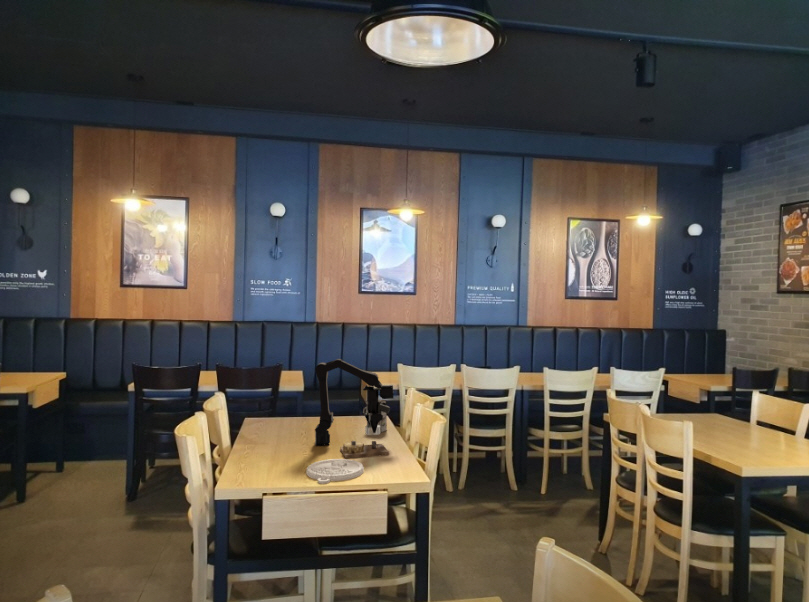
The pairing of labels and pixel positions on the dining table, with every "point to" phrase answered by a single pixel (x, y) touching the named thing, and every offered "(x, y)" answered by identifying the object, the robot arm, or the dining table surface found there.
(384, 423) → the coffee box
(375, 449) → the gear board
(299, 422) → the dining table surface
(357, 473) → the medallion
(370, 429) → the steel gear
